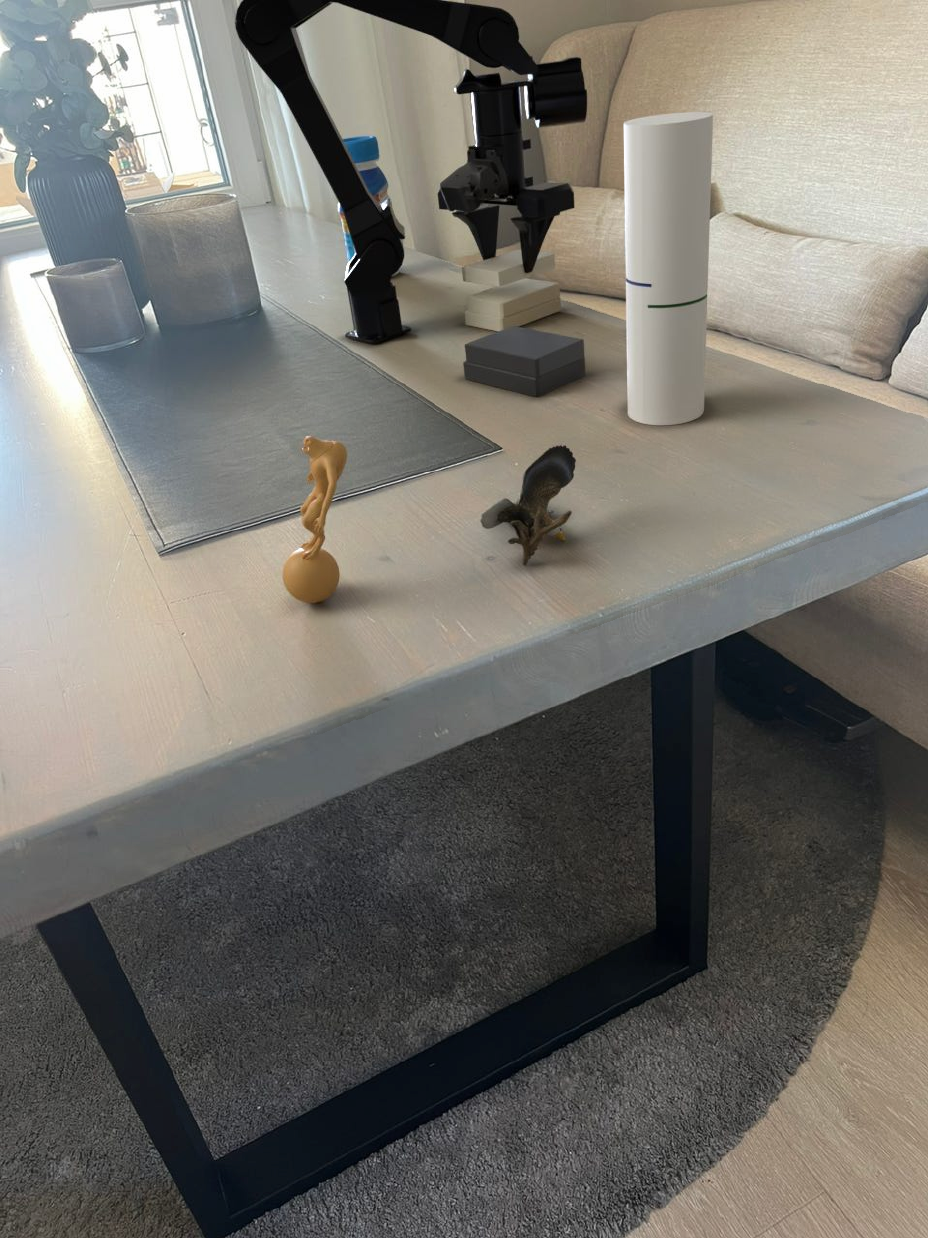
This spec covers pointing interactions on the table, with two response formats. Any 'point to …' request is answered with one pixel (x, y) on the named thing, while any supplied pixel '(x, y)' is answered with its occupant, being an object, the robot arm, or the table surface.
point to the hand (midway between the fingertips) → (508, 269)
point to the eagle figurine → (535, 501)
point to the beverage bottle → (365, 178)
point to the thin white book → (505, 269)
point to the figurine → (316, 526)
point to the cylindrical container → (667, 264)
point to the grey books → (525, 360)
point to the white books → (512, 304)
